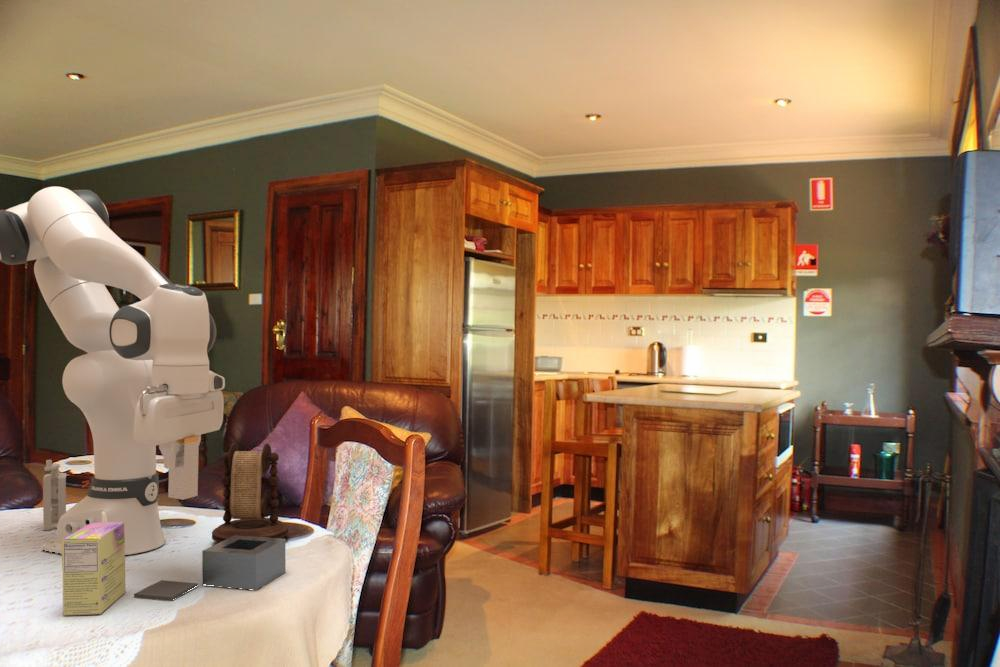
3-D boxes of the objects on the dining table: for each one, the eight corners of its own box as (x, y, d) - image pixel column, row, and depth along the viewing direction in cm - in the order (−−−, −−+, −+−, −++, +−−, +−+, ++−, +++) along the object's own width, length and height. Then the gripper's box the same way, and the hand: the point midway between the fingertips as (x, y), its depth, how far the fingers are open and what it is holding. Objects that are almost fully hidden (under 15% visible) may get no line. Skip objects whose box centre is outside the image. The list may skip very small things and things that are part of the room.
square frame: (202, 586, 136) (202, 550, 136) (234, 568, 146) (234, 535, 146) (256, 590, 134) (256, 554, 134) (285, 572, 144) (285, 538, 144)
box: (90, 593, 133) (89, 521, 132) (126, 592, 133) (125, 521, 133) (61, 616, 122) (60, 539, 122) (100, 615, 123) (99, 538, 122)
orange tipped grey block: (183, 499, 132) (184, 438, 132) (168, 497, 133) (169, 437, 133) (197, 495, 135) (198, 436, 135) (182, 493, 136) (184, 434, 136)
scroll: (200, 552, 156) (199, 448, 156) (228, 531, 171) (227, 437, 171) (275, 552, 156) (275, 449, 156) (297, 532, 171) (296, 438, 170)
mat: (134, 597, 131) (134, 593, 131) (161, 583, 137) (161, 580, 137) (172, 600, 129) (172, 597, 129) (198, 586, 136) (198, 583, 136)
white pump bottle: (68, 519, 181) (67, 453, 181) (65, 529, 172) (65, 459, 172) (46, 521, 179) (46, 454, 179) (43, 532, 171) (42, 461, 170)
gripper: (159, 388, 123) (158, 478, 123) (230, 378, 143) (229, 456, 143) (122, 386, 124) (122, 476, 125) (198, 377, 144) (197, 454, 145)
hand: (180, 465), depth 134 cm, fingers closed on orange tipped grey block, 3 cm apart
